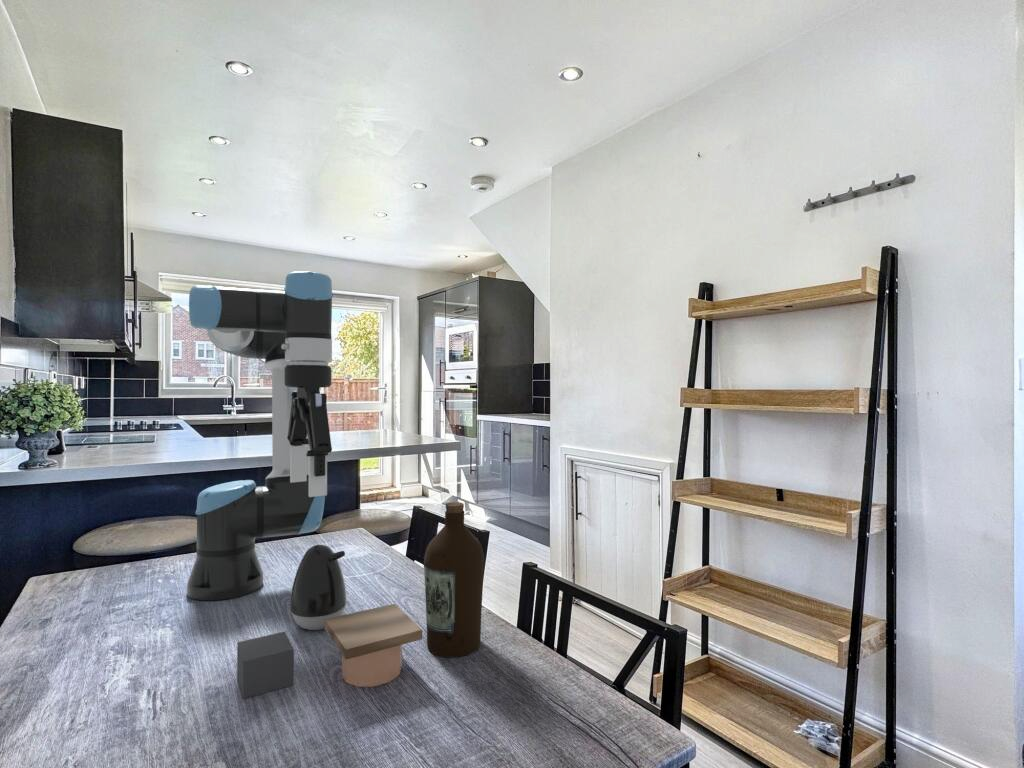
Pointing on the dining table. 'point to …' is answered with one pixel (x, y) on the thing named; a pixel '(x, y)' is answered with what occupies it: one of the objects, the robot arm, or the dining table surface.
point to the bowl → (373, 667)
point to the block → (265, 664)
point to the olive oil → (454, 587)
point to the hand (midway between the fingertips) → (307, 488)
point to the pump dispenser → (318, 588)
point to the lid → (372, 630)
